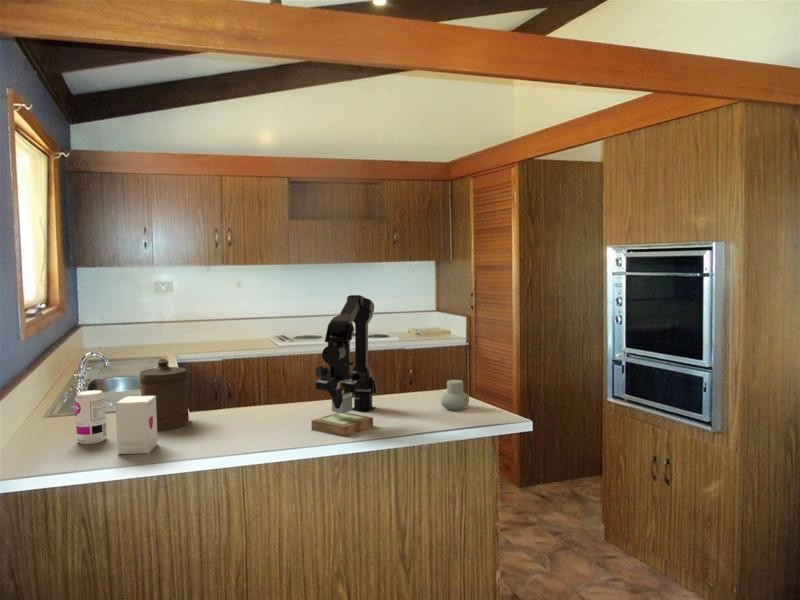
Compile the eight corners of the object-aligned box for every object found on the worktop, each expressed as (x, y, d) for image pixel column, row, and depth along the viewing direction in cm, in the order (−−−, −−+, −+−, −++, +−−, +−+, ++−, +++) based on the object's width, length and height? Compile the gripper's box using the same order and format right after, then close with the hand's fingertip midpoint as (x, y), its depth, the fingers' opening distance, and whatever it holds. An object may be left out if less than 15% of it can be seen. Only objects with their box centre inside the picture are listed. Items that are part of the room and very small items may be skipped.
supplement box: (149, 453, 182) (147, 402, 180) (116, 455, 181) (114, 403, 180) (158, 444, 191) (156, 395, 190) (127, 445, 190) (125, 395, 189)
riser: (340, 420, 215) (340, 410, 215) (373, 426, 207) (372, 416, 207) (311, 429, 204) (311, 420, 204) (344, 436, 196) (344, 426, 196)
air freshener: (448, 404, 236) (448, 377, 235) (470, 406, 233) (470, 379, 232) (439, 411, 226) (439, 383, 225) (462, 413, 223) (462, 384, 222)
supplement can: (76, 446, 190) (73, 396, 189) (78, 439, 197) (75, 391, 196) (106, 442, 193) (104, 393, 192) (107, 435, 200) (104, 388, 199)
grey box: (341, 408, 209) (341, 390, 208) (352, 410, 206) (352, 392, 205) (332, 411, 205) (331, 393, 204) (342, 413, 202) (342, 394, 202)
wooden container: (166, 416, 223) (163, 354, 222) (198, 421, 217) (195, 357, 215) (131, 427, 210) (128, 361, 208) (164, 432, 203) (161, 364, 202)
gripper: (341, 352, 216) (342, 398, 217) (302, 360, 201) (303, 409, 202) (367, 355, 210) (367, 402, 211) (328, 364, 195) (329, 414, 196)
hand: (342, 406), depth 205 cm, fingers closed on grey box, 5 cm apart
